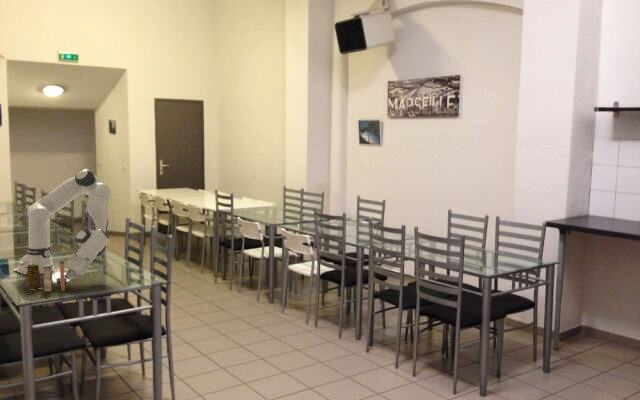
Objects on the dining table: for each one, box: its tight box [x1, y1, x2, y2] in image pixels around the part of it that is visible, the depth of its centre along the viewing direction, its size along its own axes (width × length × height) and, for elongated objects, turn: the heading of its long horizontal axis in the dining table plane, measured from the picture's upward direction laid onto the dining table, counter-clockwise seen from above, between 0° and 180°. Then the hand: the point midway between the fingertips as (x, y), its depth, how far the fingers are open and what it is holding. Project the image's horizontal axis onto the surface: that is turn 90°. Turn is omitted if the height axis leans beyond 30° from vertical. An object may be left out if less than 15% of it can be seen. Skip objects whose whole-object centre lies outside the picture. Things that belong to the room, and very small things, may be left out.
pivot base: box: [56, 276, 68, 285], centre depth 307 cm, size 5×5×3 cm
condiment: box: [26, 264, 45, 290], centre depth 294 cm, size 7×8×12 cm
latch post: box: [43, 264, 54, 292], centre depth 291 cm, size 4×4×13 cm
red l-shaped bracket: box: [59, 259, 66, 292], centre depth 296 cm, size 16×2×16 cm, turn 26°
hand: (66, 278), depth 295 cm, fingers closed
